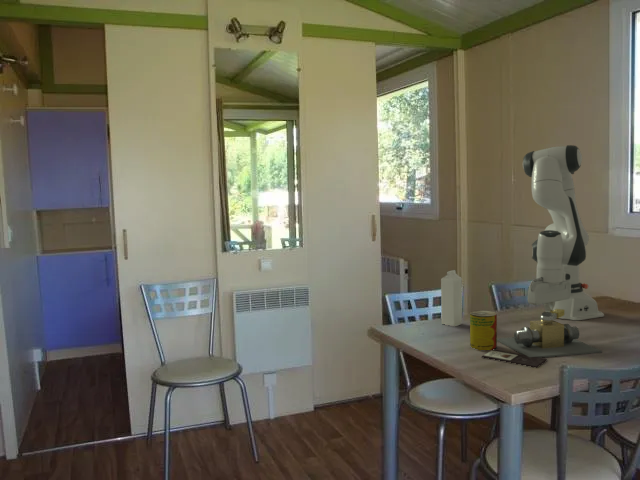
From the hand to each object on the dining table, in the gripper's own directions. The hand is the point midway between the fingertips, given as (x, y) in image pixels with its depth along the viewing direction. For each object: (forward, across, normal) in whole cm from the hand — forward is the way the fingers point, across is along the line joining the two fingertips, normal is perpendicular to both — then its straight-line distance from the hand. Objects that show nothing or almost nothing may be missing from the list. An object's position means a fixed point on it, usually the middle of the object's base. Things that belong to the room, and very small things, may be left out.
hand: (549, 314), depth 208 cm
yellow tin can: (+10, -25, +8) cm, 28 cm away
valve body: (+9, -8, -4) cm, 13 cm away
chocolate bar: (+10, -28, -7) cm, 31 cm away
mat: (+9, -8, -4) cm, 13 cm away
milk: (+9, -10, +38) cm, 40 cm away
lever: (+1, -2, -3) cm, 4 cm away
